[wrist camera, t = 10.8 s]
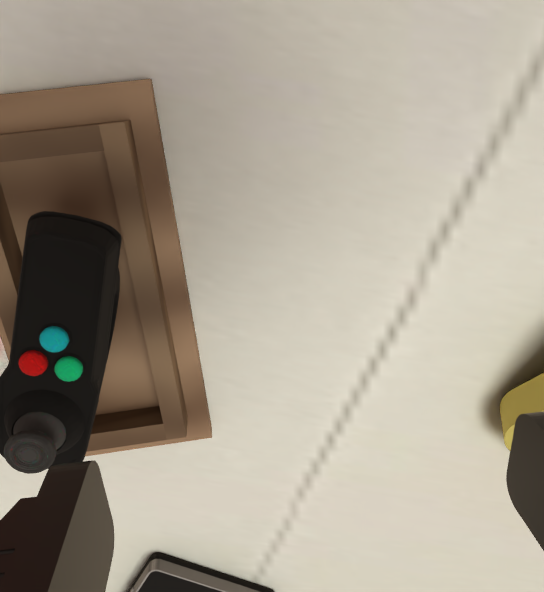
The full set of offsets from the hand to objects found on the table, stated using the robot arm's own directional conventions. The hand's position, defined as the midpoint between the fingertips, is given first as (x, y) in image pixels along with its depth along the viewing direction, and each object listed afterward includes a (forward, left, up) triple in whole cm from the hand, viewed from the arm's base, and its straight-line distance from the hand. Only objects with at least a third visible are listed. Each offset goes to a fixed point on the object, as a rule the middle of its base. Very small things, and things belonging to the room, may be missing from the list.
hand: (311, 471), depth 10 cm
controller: (+3, -9, -21) cm, 23 cm away
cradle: (+3, -9, -22) cm, 24 cm away
